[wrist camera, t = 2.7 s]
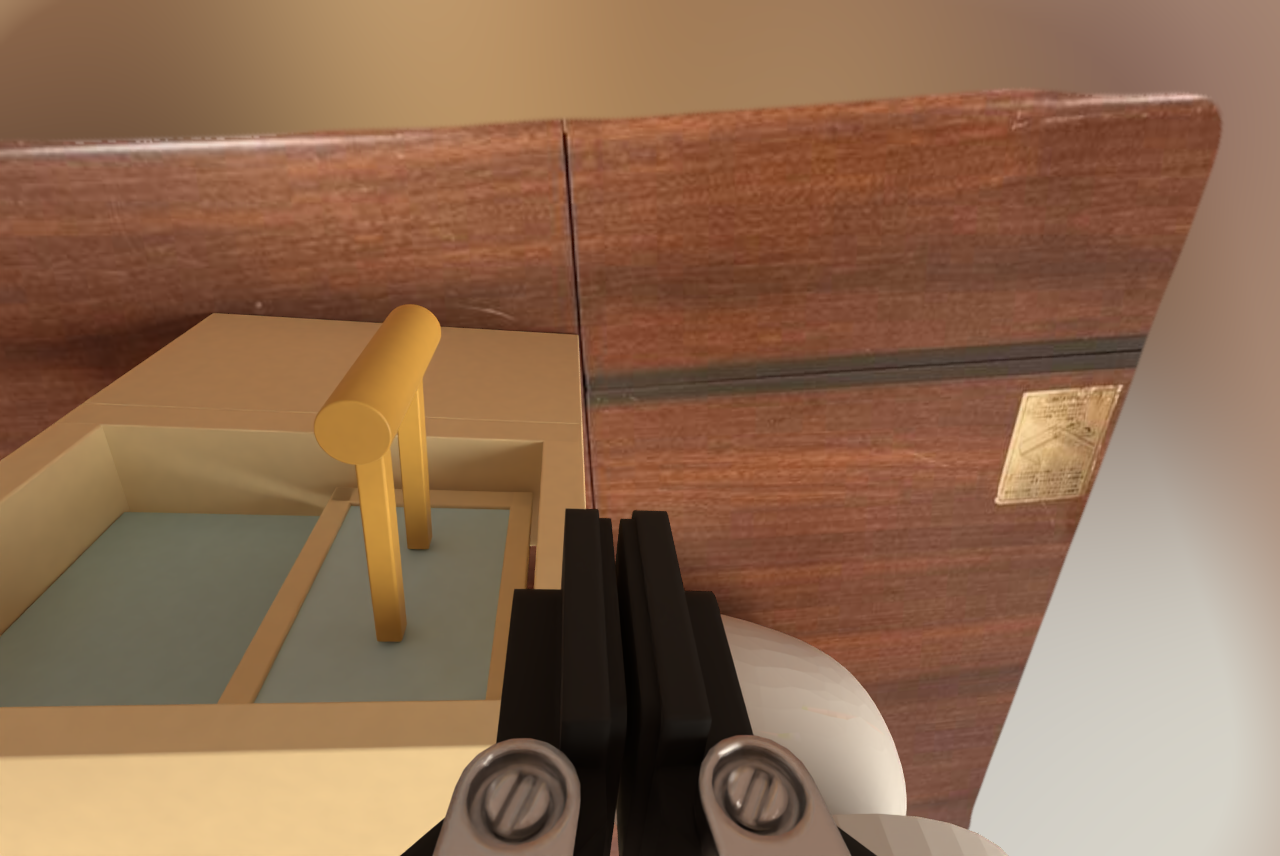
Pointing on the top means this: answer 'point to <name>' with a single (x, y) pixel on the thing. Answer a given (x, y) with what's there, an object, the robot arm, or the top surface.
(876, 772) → the table lamp
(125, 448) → the window frame
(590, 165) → the top surface
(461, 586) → the sash
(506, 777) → the robot arm
